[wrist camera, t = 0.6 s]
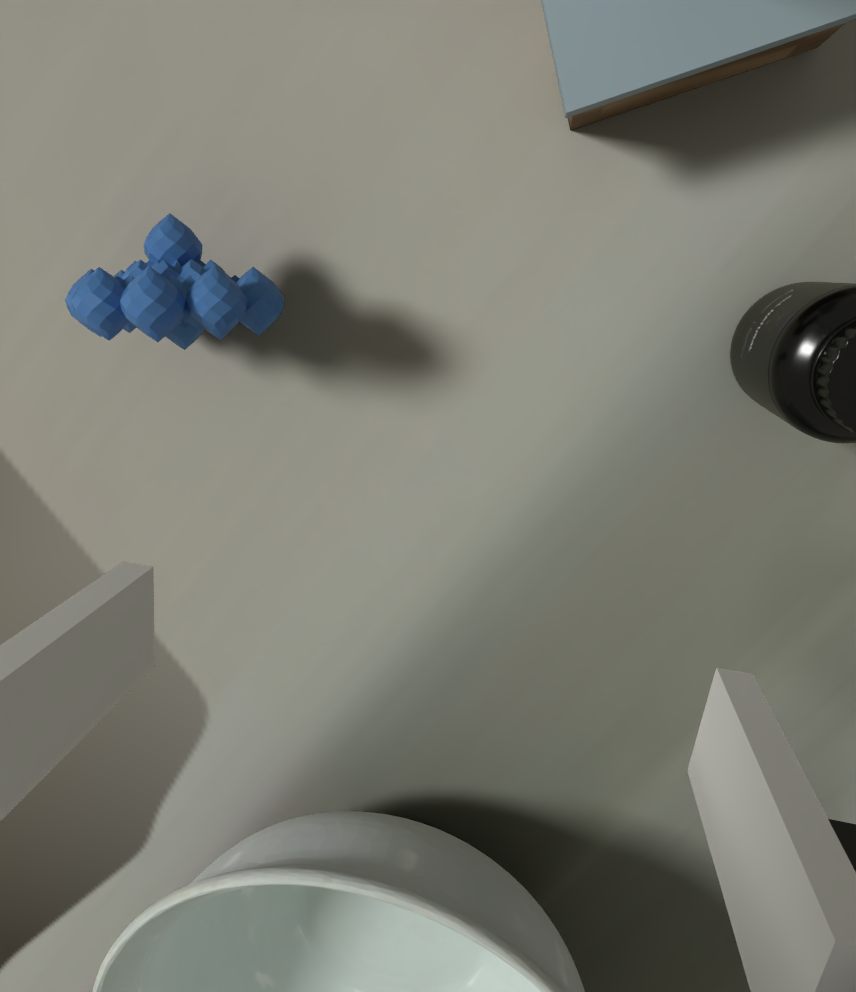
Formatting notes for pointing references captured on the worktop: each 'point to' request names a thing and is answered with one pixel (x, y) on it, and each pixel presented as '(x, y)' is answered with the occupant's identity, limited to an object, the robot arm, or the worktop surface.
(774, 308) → the supplement bottle
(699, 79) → the box
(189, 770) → the worktop surface
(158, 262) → the grapes
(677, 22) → the lid
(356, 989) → the bowl
